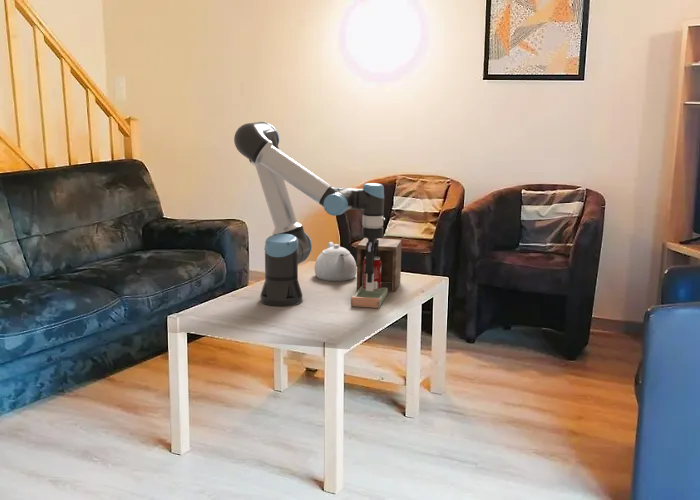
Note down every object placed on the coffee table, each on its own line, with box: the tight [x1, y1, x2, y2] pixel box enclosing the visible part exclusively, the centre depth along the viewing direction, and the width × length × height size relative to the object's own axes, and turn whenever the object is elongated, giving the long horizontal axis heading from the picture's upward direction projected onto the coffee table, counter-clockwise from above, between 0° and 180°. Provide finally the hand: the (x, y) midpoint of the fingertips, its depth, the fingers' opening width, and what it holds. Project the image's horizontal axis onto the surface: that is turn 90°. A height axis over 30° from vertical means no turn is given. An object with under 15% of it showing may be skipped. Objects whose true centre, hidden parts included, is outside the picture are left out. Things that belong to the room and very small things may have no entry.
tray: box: [350, 286, 388, 309], centre depth 285 cm, size 10×20×3 cm, turn 169°
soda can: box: [362, 256, 382, 291], centre depth 287 cm, size 7×7×12 cm
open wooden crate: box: [356, 237, 403, 293], centre depth 304 cm, size 15×15×18 cm
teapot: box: [314, 241, 357, 282], centre depth 319 cm, size 19×18×14 cm
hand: (371, 288), depth 288 cm, fingers closed on soda can, 7 cm apart
